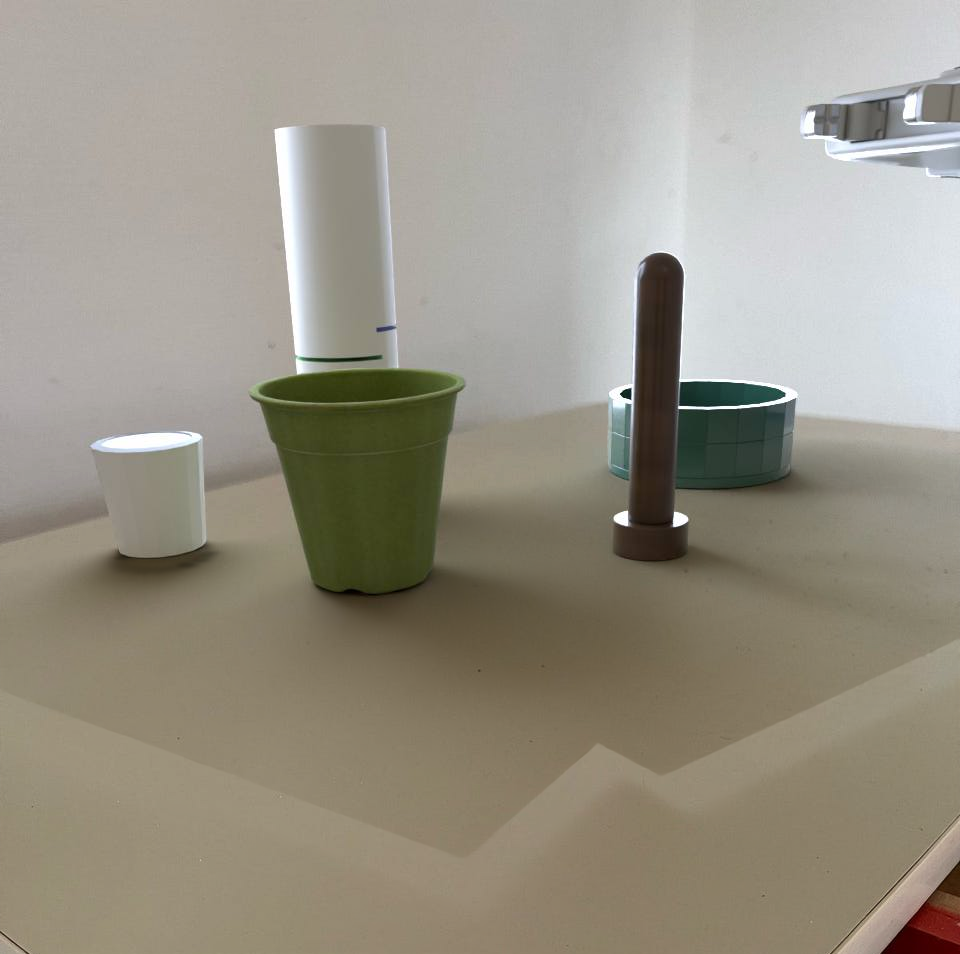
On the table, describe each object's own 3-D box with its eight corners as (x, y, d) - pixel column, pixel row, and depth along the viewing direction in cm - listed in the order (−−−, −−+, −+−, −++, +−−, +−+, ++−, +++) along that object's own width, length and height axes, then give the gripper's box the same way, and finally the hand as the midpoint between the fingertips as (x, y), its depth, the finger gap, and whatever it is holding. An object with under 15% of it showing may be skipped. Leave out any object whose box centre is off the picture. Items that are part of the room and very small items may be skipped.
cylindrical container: (425, 499, 77) (407, 128, 68) (366, 522, 72) (337, 122, 62) (350, 488, 81) (324, 135, 71) (289, 510, 75) (251, 130, 66)
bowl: (690, 441, 94) (694, 374, 92) (827, 467, 83) (835, 392, 81) (571, 466, 86) (572, 393, 84) (705, 499, 75) (710, 416, 73)
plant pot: (227, 590, 59) (201, 391, 55) (359, 537, 68) (346, 363, 64) (388, 627, 53) (374, 407, 49) (510, 564, 62) (507, 373, 58)
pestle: (648, 534, 67) (659, 249, 60) (702, 550, 64) (719, 250, 57) (597, 548, 65) (602, 253, 58) (650, 565, 61) (662, 253, 55)
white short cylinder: (158, 566, 64) (140, 454, 61) (85, 551, 67) (66, 444, 64) (237, 538, 69) (224, 433, 66) (166, 525, 72) (151, 425, 70)
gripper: (1196, 160, 54) (983, 164, 51) (927, 177, 72) (755, 181, 69) (1225, 22, 52) (1004, 16, 48) (940, 76, 70) (762, 74, 66)
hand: (856, 113), depth 58 cm, fingers open, 8 cm apart
